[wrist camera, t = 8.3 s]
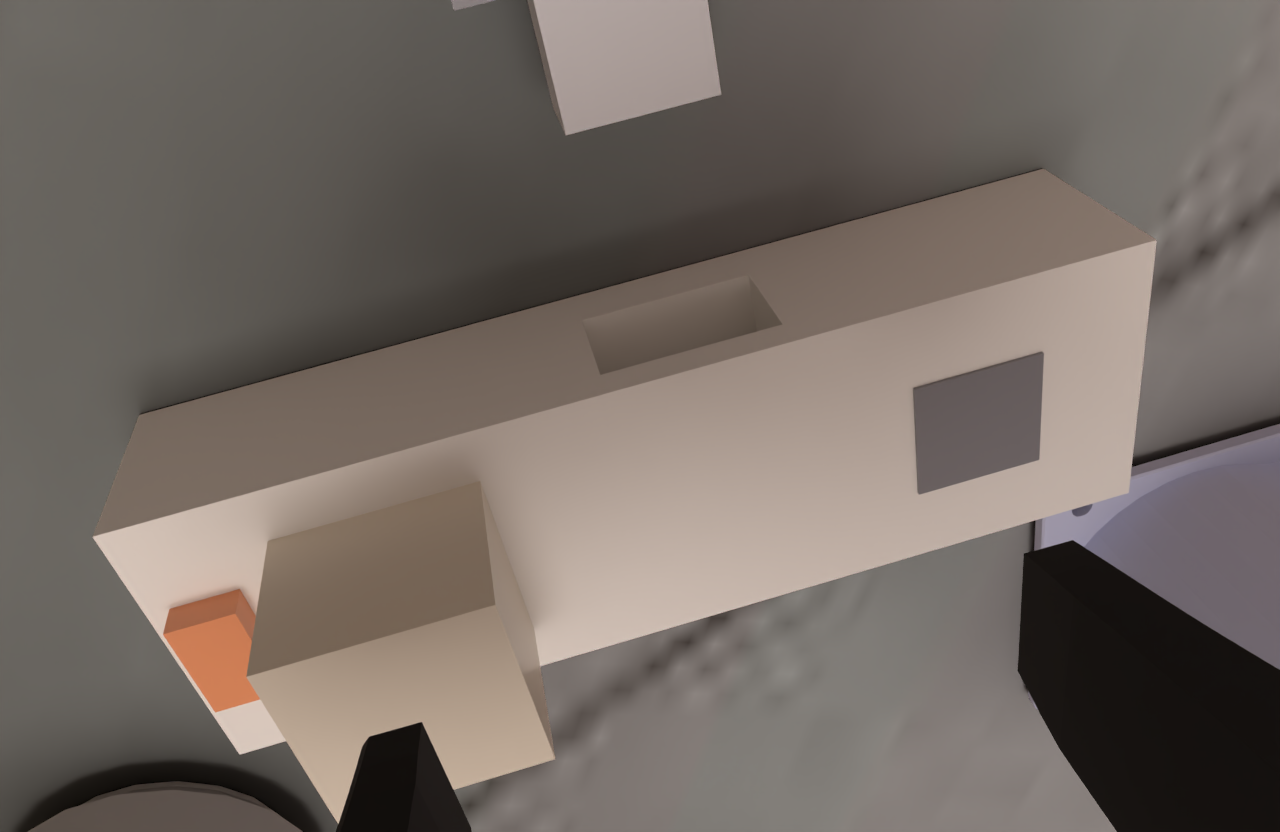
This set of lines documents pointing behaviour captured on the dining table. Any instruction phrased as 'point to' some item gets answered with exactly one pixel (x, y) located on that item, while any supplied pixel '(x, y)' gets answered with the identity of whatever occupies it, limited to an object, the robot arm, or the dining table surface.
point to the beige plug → (400, 642)
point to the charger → (621, 56)
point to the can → (169, 811)
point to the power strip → (678, 429)
